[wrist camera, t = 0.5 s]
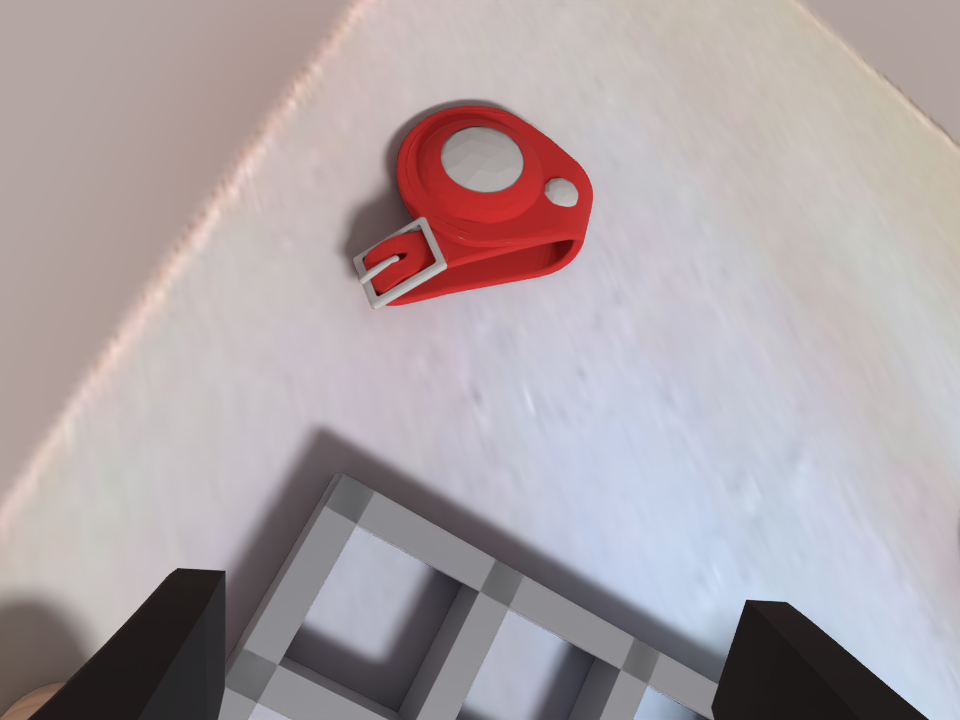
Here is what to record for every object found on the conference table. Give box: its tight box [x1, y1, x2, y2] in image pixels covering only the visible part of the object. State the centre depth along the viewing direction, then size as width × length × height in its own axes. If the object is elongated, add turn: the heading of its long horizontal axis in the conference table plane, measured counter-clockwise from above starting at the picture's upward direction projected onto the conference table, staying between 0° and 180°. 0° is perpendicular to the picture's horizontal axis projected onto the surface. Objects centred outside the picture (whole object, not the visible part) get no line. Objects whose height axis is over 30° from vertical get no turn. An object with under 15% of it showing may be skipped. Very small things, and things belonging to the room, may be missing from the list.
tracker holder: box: [353, 106, 593, 310], centre depth 36 cm, size 12×4×10 cm
